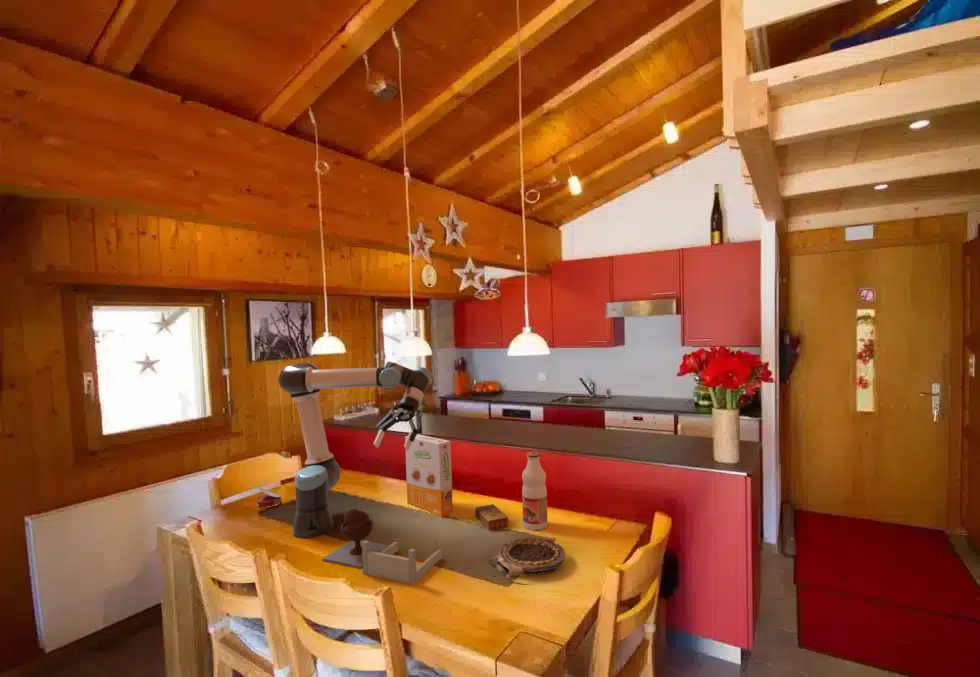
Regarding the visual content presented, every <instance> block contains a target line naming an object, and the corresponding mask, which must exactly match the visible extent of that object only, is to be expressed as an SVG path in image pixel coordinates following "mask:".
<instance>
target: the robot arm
mask: <svg viewBox="0 0 980 677" xmlns="http://www.w3.org/2000/svg"><path fill="white" fill-rule="evenodd" d="M384 364H385V365H384V366H383V367H358V368H356V367H355V368H354V367H353V368H327V369H325V368H324V369H319V368H318V367H317V366H316V365H315V364H314V363H311V362H306V361H304V362H303V361H302V362H301V361H300V362H298V363H294V364H288V365H287V366H285V367H283V368H282V370H280V372H279V374H278V377H277V378H278V385H279V387H280V388H281V389H282V390H283V391H284V392H286V393H288V394H289V395H290V399H292V400H293V401H295V403H296V409H297V413H298V417H299V423H300V426H301V432H302V437H303V441H304V446H305V451H306V456H307V458H306V459H305V461H304V465H305V467H303V468H301V469H299V470H298V471H297V472H296V473H295V479H294V488H295V504H296V505H295V507H296V512H295V517H294V520H293V521H294V522H293V524H292V527H291V529H292V531H291V532H292V535H293V534H294V535H293V536H294V537H299V538H313V537H314V538H315V537H318V536H322V535H324V534H327V533H329V532H330V531H332V530H333V529H334V525H335V524H334V521H335V520H334V519H333V517H332V514H331V511H330V508H329V491H331V489H332V488H334V487H335V486H336V484H337V483H338V481H339V480H340V477H341V468H340V467H341V466H340V465H339V463H338V462H336V459H335V456H334V454H333V453H332V452H330V450H329V444H328V441H327V440H328V439H327V436H326V431H325V426H324V422H323V416H322V412H321V407H320V402H319V395H320V393H321V390H326V389H330V390H331V389H351V388H353V389H355V388H356V389H357V388H379V387H380V388H387V389H389V388H395V387H397V386H398V385H401V386H403V387H405V388H406V389H405V392H404V394H403V396H402V398H401V400H400V402H399V404H398V408H397V409H394V408H390V410H389V411H388V413H387V414H386V415H385V416H384V417H383V418H382V419H381V420H380V421H378V423H377V424H376V425H375V429H376V430H377V433H376V435H375V439H374V441H373V443H372V444H373V445H374V447H375V448H376V449H378V448H379V447H380V445H381V443H382V440H383V438H384V436H385V434H386V431H387V430H388V429H390V428H391V427H393V426H394V425H395V424H398V423H400V422H401V423H402V422H403V423H407V422H408V423H409V427H410V429H411V431H409V433H408V435H407V436H408V437H407V440H406V442H405V441H404V445H403V448H404V449H405V451H406V450H409V448H410V445H411V443H412V442H413V441H414V440H415V437H416V435H417V434H419V435H422V434H423V425H422V424H423V423H422V417H423V413H422V412H421V410H420V409H419V407H420V404H421V403H422V401H423V398H424V396H425V393H426V391H427V389H428V387H429V385H430V382H431V379H432V373H431V371H430V370H429V369H428V368H426V367H424V366H418V367H416V368H415V369H412V368H409V367H406V366H403V365H401V364H399V363H397V362H392V361H387V362H386V363H384ZM414 417H415V421H416V425H415V423H414V420H413V418H414Z"/></svg>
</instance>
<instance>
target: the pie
mask: <svg viewBox="0 0 980 677" xmlns="http://www.w3.org/2000/svg"><path fill="white" fill-rule="evenodd" d="M497 555H499V556H498V557H497ZM494 557H497V559H498V560H497V564H495V563H492V565H493V566H495V567H496V569H497V570H498V569H499V570H500V571H505V570H506V569H507V570H509V571H508V573H507V574H506V575H505V577H506V579H507V580H508V581H509V582H512V581H511V580H509V579H510V578H509V579H508V577H510V575H513V576H515V575H514V574H518V575H517V576H519V575H528V576H531V575H530V574H533V575H539V574H538V573H541V574H543V573H542V572H544V573H549V572H548V571H550V572H555V571H556V570H557V569H556V568H558V567H559V566H560V565H562V563H563V562H564V560H565V558H566V552H565V549H564V548H563V547H562V545H560V544H559V543H557V544H556V542H554V541H553V540H550V539H546V538H541V537H540V538H537V537H523V538H517V539H515V540H513V541H511V542H509V543H508V542H506V543H504V545H501V548H500V550H499V552H498V554H496V555H494V556H492V558H494ZM492 558H490V560H491V559H492ZM490 560H489V561H490ZM505 568H506V569H505ZM499 570H498V571H499ZM554 570H555V571H554ZM500 571H499V572H500ZM534 573H535V574H534ZM512 583H514V584H515V581H513V582H512ZM517 583H518V584H521V585H522V583H521V582H519V581H517V582H516V584H517ZM524 585H525V586H526V585H527V584H525V583H524Z"/></svg>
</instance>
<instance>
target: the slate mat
mask: <svg viewBox="0 0 980 677" xmlns="http://www.w3.org/2000/svg"><path fill="white" fill-rule="evenodd" d="M363 541H364V539H362V540H361V541H360V546H362V542H363ZM390 545H391V544H389V545H388V544H383V543H379V542H373V541H369V550H370V551H373V552H378V553H380V552H381V551H383V550H384V549H386V548H387V547H388V546H390ZM354 547H355V542H354V541H351V540H349V541H348V542H346V543H345V544H343V545H342V546H339V548H337V549H335V550H333V551H332V552H330V553H329V554H327V555H326V556H324V557H322V561H323V562H327V563H331V564H335V565H340V566H346V567H352V568H355V569H360V570H361V569H362V570H363V560H362V554H361V555H351V554H350V551H351V549H353V548H354Z"/></svg>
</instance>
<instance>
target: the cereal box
mask: <svg viewBox="0 0 980 677" xmlns="http://www.w3.org/2000/svg"><path fill="white" fill-rule="evenodd" d="M407 437H408V435H407V436H404V440H405V441H404V443H405V442H406V440H407ZM451 446H452V445H451V440H448V439H442V438H437V437H432V436H429V435H422V434H420V433H419V434H417V435H416V437H415V440H414V441H413V442H412V443H411V445H410V448H409V450H406V449H405V470H406V472H405V474H406V498H407V499H406V502H407V504H410V505H412V506H415V507H417V508H420V509H422V510H421V511H423V510H425V511H428V512H430V513H429V514H431V513H433V514H435V515H434V516H436V515H438V516H437V517H439V516H440V517H439V518H443V517H442V516H444V517H446V516H449V515H451V514H453V513H454V510H453V509H454V506H453V483H452V482H453V479H452V478H453V477H452V474H453V473H452V447H451ZM407 504H406V505H407ZM412 506H411V507H412ZM415 507H414V508H415ZM417 508H416V509H417ZM420 509H419V510H420ZM425 511H424V512H425ZM428 512H427V513H428ZM450 513H451V514H450ZM433 514H432V515H433ZM448 514H449V515H448ZM445 515H446V516H445Z"/></svg>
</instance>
